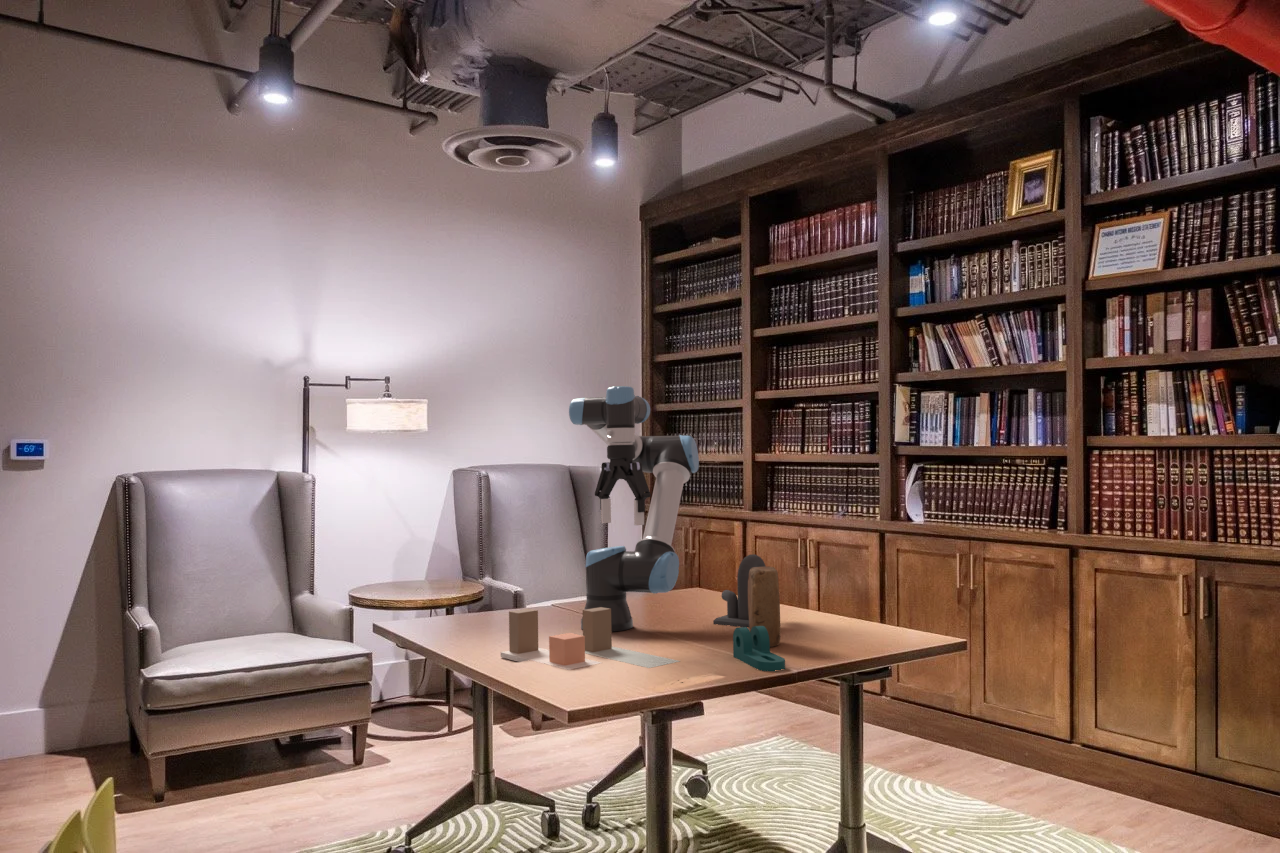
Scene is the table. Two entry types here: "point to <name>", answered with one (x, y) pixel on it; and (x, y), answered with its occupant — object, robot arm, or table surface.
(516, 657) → the cube strip
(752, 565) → the faucet
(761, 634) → the bracket
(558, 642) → the cube
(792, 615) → the table surface
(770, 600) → the block
